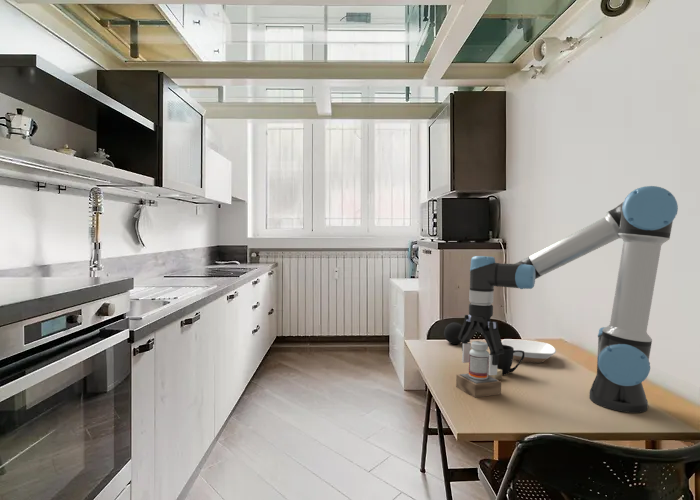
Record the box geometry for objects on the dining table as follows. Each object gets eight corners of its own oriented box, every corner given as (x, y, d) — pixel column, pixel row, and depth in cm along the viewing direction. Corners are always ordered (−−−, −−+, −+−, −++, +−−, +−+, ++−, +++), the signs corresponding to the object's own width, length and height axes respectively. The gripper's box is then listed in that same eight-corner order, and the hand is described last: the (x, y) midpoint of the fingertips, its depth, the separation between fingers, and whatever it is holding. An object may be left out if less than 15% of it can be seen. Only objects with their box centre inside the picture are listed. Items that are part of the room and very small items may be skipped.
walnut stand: (500, 394, 135) (501, 380, 135) (475, 397, 132) (475, 383, 132) (480, 383, 145) (481, 371, 145) (456, 386, 141) (456, 373, 141)
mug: (523, 378, 151) (524, 352, 151) (488, 373, 156) (489, 348, 156) (523, 372, 159) (524, 347, 158) (490, 367, 163) (491, 343, 163)
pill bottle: (474, 372, 142) (476, 339, 142) (491, 377, 138) (493, 343, 138) (464, 376, 138) (466, 342, 138) (482, 381, 134) (483, 346, 133)
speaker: (439, 343, 200) (440, 322, 200) (451, 340, 207) (452, 319, 207) (457, 347, 193) (458, 325, 193) (469, 344, 200) (470, 323, 199)
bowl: (558, 368, 165) (559, 355, 165) (499, 362, 172) (500, 349, 172) (551, 354, 185) (552, 342, 185) (499, 349, 192) (499, 337, 192)
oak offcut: (502, 378, 151) (502, 369, 151) (494, 381, 148) (494, 372, 148) (489, 374, 155) (489, 366, 155) (481, 377, 152) (482, 368, 151)
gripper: (518, 309, 127) (515, 379, 128) (467, 297, 150) (465, 356, 151) (497, 310, 124) (495, 381, 125) (449, 298, 148) (447, 358, 148)
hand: (478, 368), depth 138 cm, fingers open, 13 cm apart
